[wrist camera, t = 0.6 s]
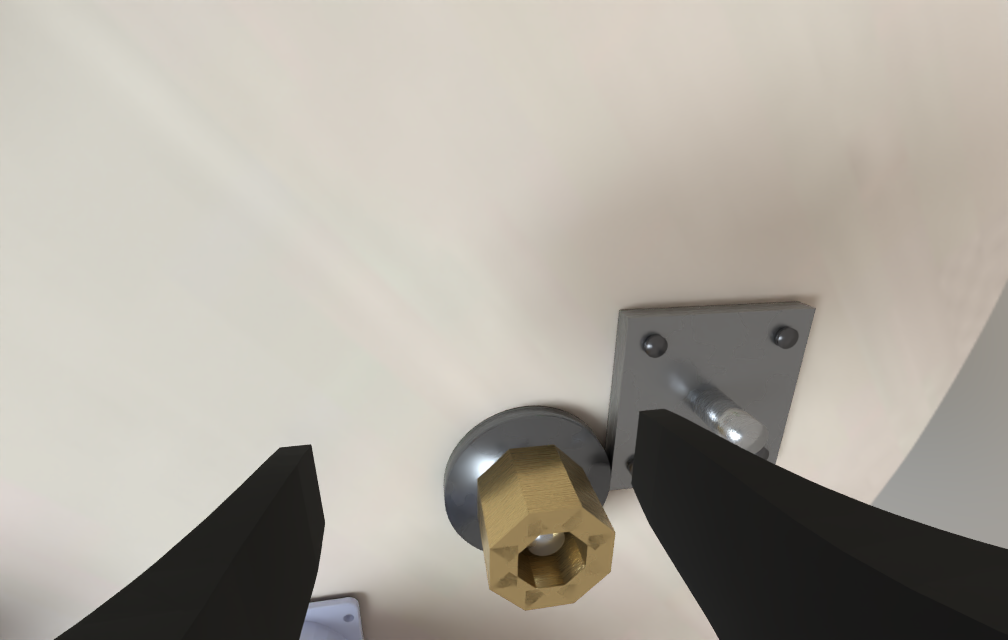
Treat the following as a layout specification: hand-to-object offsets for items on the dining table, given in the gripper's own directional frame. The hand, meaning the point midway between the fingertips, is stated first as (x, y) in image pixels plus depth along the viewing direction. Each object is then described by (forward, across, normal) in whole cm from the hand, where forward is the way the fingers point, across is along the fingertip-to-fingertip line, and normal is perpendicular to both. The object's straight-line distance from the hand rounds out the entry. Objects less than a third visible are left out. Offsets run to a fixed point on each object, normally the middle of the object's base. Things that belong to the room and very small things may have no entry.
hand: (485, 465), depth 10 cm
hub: (+10, -12, +5) cm, 16 cm away
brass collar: (+9, -3, +9) cm, 13 cm away
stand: (+10, -3, +9) cm, 14 cm away
